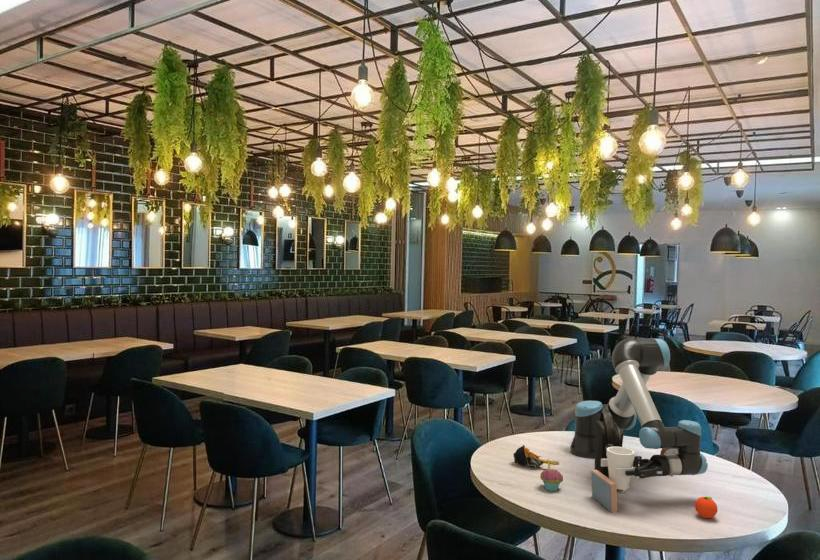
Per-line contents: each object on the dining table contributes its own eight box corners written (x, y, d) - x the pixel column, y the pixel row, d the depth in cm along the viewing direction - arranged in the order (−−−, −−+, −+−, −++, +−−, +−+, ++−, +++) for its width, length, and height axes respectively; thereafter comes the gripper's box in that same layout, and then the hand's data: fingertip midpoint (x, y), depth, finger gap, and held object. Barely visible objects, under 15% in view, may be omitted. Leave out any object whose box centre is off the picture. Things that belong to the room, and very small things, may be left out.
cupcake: (550, 494, 213) (551, 462, 213) (535, 486, 221) (536, 455, 220) (567, 490, 217) (568, 459, 217) (552, 483, 225) (553, 452, 224)
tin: (695, 464, 250) (696, 445, 250) (698, 467, 247) (698, 448, 247) (659, 462, 252) (660, 443, 252) (662, 465, 249) (662, 446, 248)
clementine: (700, 510, 202) (701, 490, 202) (721, 517, 197) (722, 496, 197) (690, 516, 197) (691, 496, 197) (712, 523, 192) (713, 502, 192)
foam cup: (632, 483, 209) (633, 448, 208) (633, 493, 200) (635, 456, 200) (605, 479, 212) (606, 445, 212) (605, 489, 203) (606, 452, 203)
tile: (597, 495, 213) (596, 469, 212) (617, 511, 199) (616, 483, 199) (591, 496, 212) (590, 470, 212) (611, 512, 199) (610, 484, 198)
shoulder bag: (589, 471, 239) (591, 404, 239) (612, 472, 238) (614, 405, 237) (600, 491, 217) (602, 418, 216) (625, 493, 216) (627, 420, 215)
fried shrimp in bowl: (512, 449, 251) (552, 439, 248) (519, 474, 247) (560, 465, 243) (509, 446, 243) (551, 436, 240) (516, 473, 238) (559, 463, 235)
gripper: (684, 486, 198) (625, 489, 194) (646, 464, 220) (592, 467, 216) (684, 465, 198) (625, 468, 194) (647, 445, 220) (593, 447, 216)
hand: (608, 467), depth 205 cm, fingers closed on foam cup, 9 cm apart
